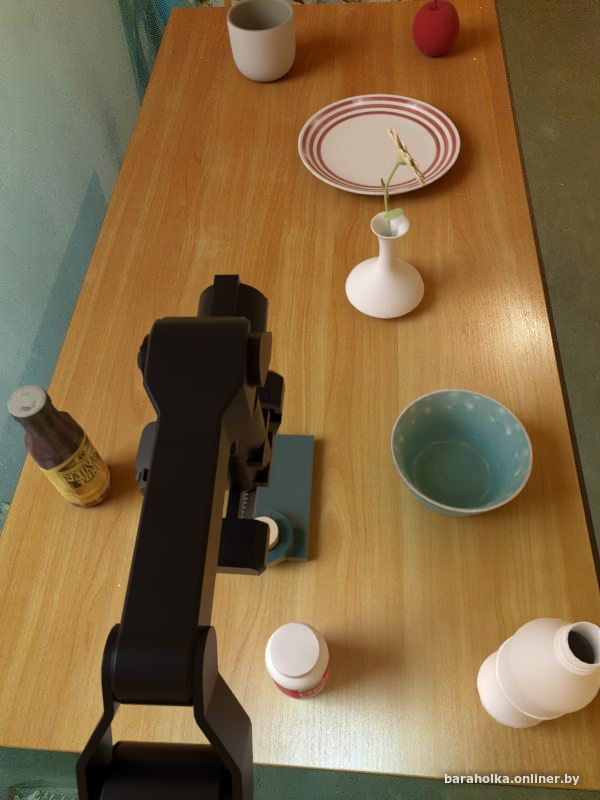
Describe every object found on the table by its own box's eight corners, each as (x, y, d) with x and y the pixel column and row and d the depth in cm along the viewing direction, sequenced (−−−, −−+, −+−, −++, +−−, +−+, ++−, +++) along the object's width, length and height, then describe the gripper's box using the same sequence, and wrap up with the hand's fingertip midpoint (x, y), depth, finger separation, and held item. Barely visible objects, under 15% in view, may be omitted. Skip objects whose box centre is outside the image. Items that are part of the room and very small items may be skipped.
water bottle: (471, 723, 64) (535, 689, 43) (473, 649, 68) (534, 584, 47) (544, 737, 63) (647, 709, 42) (543, 661, 67) (637, 600, 46)
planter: (236, 54, 130) (228, -3, 120) (297, 51, 129) (294, -7, 120) (233, 90, 123) (224, 33, 114) (297, 87, 122) (293, 29, 113)
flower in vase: (424, 326, 91) (449, 183, 69) (344, 324, 92) (345, 183, 70) (421, 258, 98) (443, 110, 76) (346, 258, 98) (348, 111, 77)
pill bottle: (304, 713, 65) (298, 701, 56) (260, 672, 68) (247, 653, 58) (341, 664, 68) (341, 644, 58) (297, 626, 70) (291, 600, 61)
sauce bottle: (95, 517, 78) (27, 442, 61) (55, 498, 80) (-22, 419, 63) (125, 473, 81) (68, 389, 64) (85, 455, 83) (20, 369, 66)
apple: (459, 62, 124) (468, 8, 115) (412, 64, 124) (418, 11, 116) (452, 36, 129) (460, -18, 120) (408, 38, 129) (412, -15, 121)
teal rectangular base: (306, 573, 73) (305, 565, 71) (220, 568, 74) (216, 560, 71) (314, 440, 82) (313, 429, 79) (237, 437, 83) (234, 426, 80)
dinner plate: (306, 106, 119) (305, 89, 116) (454, 107, 117) (457, 90, 114) (291, 207, 105) (290, 191, 102) (460, 211, 102) (463, 195, 100)
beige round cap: (278, 552, 72) (276, 547, 71) (246, 550, 72) (244, 546, 71) (280, 521, 74) (279, 517, 72) (249, 520, 74) (248, 515, 73)
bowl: (392, 414, 83) (397, 380, 76) (515, 429, 81) (532, 395, 74) (379, 527, 75) (383, 500, 68) (516, 547, 73) (534, 522, 66)
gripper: (151, 328, 55) (188, 414, 69) (102, 537, 46) (156, 588, 60) (278, 332, 54) (290, 418, 68) (254, 546, 45) (274, 596, 59)
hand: (252, 499), depth 63 cm, fingers open, 9 cm apart
